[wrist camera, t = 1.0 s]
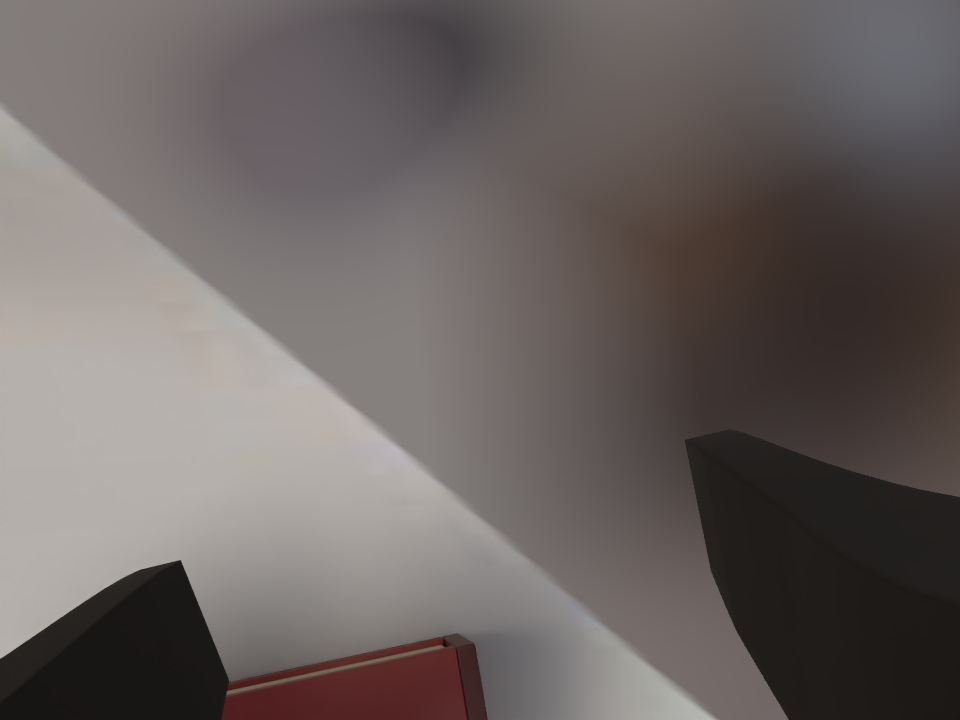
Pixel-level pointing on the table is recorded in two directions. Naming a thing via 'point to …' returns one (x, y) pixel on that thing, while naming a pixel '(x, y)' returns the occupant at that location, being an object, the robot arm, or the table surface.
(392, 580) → the table surface
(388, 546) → the table surface
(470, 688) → the book
